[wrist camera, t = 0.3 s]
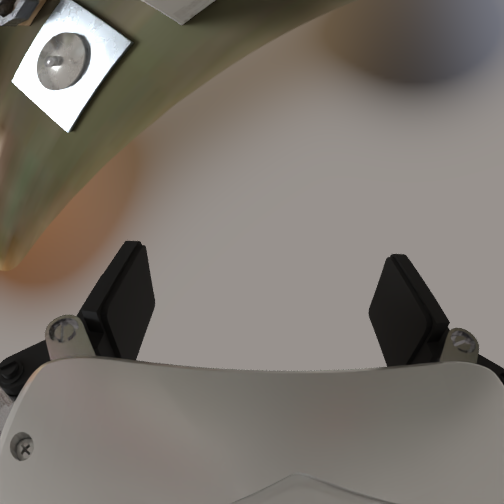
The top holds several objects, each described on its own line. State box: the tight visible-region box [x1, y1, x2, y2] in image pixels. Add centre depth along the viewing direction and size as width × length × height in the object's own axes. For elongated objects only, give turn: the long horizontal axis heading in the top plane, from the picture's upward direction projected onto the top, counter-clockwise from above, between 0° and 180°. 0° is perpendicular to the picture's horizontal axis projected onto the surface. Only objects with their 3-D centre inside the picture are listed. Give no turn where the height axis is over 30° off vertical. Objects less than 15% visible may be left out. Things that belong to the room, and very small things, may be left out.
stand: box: [13, 0, 46, 26], centre depth 22 cm, size 6×4×4 cm, turn 135°
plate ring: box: [0, 0, 40, 26], centre depth 20 cm, size 7×7×4 cm
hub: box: [12, 0, 134, 132], centre depth 28 cm, size 16×16×4 cm
